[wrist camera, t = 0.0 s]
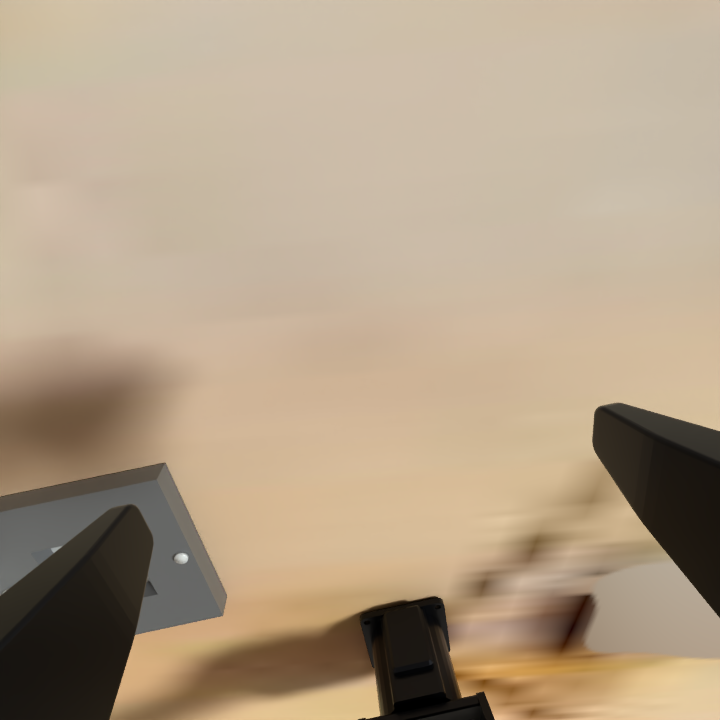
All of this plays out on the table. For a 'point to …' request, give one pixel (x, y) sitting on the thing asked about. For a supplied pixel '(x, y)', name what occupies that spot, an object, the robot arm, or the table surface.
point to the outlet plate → (87, 503)
